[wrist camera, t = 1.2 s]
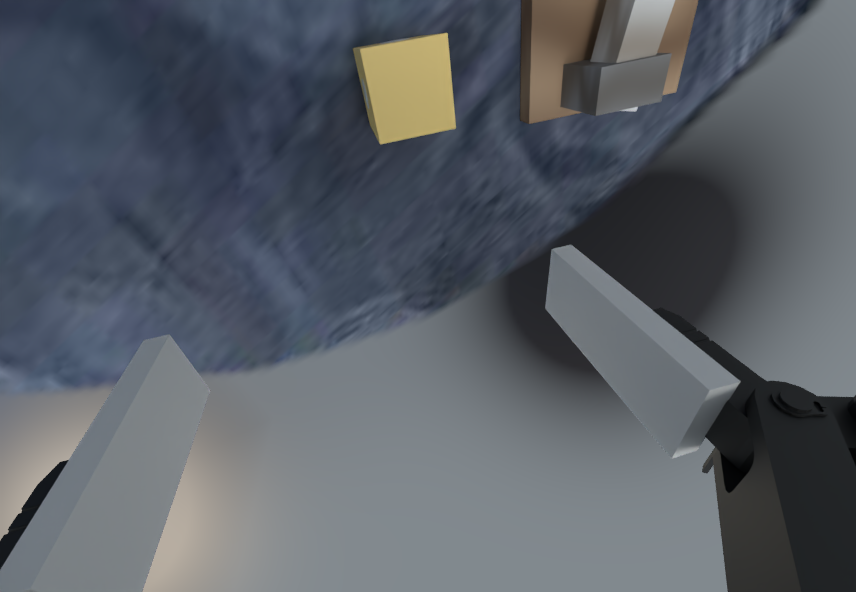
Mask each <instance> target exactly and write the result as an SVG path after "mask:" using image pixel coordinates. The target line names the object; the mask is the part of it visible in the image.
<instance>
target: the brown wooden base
mask: <svg viewBox="0 0 856 592" xmlns="http://www.w3.org/2000/svg"><path fill="white" fill-rule="evenodd" d="M697 4H698V0H522V3H521V91H520V121H523V122H525V123H528V124H531V123H536V122H540V121H545V120H550V119H554V118H559V117H563V116H568V115H573V114H577V113H586V114H590V115H594V116H597V115H602V114H607V113H611V112H616V111H637V108H638V107H639V106H643V105H648V104H652V103H657V102H661V99H662V95H665V94H670V93H674V92H676V90H677V86H678V82H679V78H680V74H681V70H682V66H683V61H684V57H685V53H686V49H687V45H688V41H689V37H690V33H691V29H692V24H693V20H694V16H695V12H696V8H697Z"/></svg>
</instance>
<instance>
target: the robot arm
mask: <svg viewBox="0 0 856 592" xmlns="http://www.w3.org/2000/svg"><path fill="white" fill-rule="evenodd" d="M545 309H546V310H547V311H548V312H549V313H550V315H551V316H552V317H553V318H554V319H555V321H556V322H557V323H558V324H559V325H560V327H561V328H562V329H563V330H564V331H565V332H566V333H567V335H568V336H569V337H570V338H571V340H572V341H573V342H574V343H575V344H576V346H577V347H578V348H579V349H580V350H581V352H582V353H583V354H584V355H585V356H586V357H587V359H588V360H589V361H590V362H591V363H592V365H593V366H594V367H595V368H596V369H597V371H598V372H599V373H600V374H601V375H602V376H603V378H604V379H605V380H606V381H607V383H608V384H609V385H610V386H611V387H612V389H613V390H614V391H615V392H616V393H617V394H618V396H619V397H620V398H621V399H622V400H623V402H624V403H625V404H626V405H627V406H628V408H629V409H630V410H631V411H632V412H633V414H634V415H635V416H636V417H637V418H638V420H639V421H640V422H641V423H642V424H643V426H644V427H645V428H646V429H647V430H648V431H649V433H650V434H651V435H652V436H653V437H654V439H655V440H656V441H657V442H658V443H659V445H660V446H661V447H662V448H663V449H664V450H665V452H666V453H667V454H668V455H669V457H670V458H675V457H678V456H681V455H685V454H688V453H691V452H694V451H697V450H698V448H699V447H700V445H701V444H702V442H703V441H704V439H705V437H706V438H707V439H708V440H709V441H710V442H711V443H712V444H713V445H714V446H715V448H714V450H713V451H712V453H711V454H710V456H709V457H708V459H707V460H706V462H705V463H704V465H703V469H702V472H704V473H708V472H709V470H710V469H711V467H712V466H713V465H714V474H715V483H716V491H717V501H718V509H719V518H720V527H721V536H722V544H723V554H724V562H725V571H726V580H727V589H728V592H856V396H855V397H821V396H816V395H814V394H813V393H811V392H809V391H807V390H805V389H803V388H801V387H799V386H796V385H792V384H789V383H786V382H779V381H768V382H767V381H766V380H764V379H763V378H761V377H760V376H758V375H757V374H756V373H754V372H753V371H752V370H750V369H749V368H748V367H747V366H745V365H744V364H743V363H741V362H740V361H739V360H737V359H736V358H734V357H733V356H732V355H731V354H729V353H728V352H727V351H725V350H724V349H723V348H722V347H720V346H719V345H718V344H716V343H715V342H714V341H710V340H709V338H708V337H707V336H706V335H704V334H703V333H702V332H700V331H697V330H696V328H695V327H694V326H692V325H691V324H690V323H689V322H687V321H686V320H685V319H683V318H682V317H681V316H679V315H676V314H674V313H672V312H670V311H667V310H665V309H663V308H659V309H654V310H651V309H650V308H649V307H648V306H646V305H645V304H644V303H643V302H642V301H640V300H639V299H638V298H636V297H635V296H634V295H633V294H632V293H630V292H629V291H627V289H625V288H624V287H623V286H622V285H620V284H619V283H618V282H617V281H615V280H614V279H613V278H612V277H611V276H609V275H608V274H607V273H606V272H604V271H603V270H602V269H601V268H599V267H598V266H597V265H596V264H594V263H593V262H592V261H591V260H589V259H588V258H587V257H586V256H584V255H583V254H582V253H581V252H580V251H578V250H577V249H576V248H574V247H573V246H572V245H568V246H564V247H559V248H555V249H552V252H551V261H550V271H549V279H548V288H547V297H546V306H545ZM209 393H210V389H209V388H208V386H207V385H206V383H205V382H204V381H203V379H202V378H201V377H200V375H199V374H198V373H197V371H196V370H195V368H194V367H193V366H192V364H191V363H190V362H189V360H188V359H187V358H186V356H185V355H184V354H183V352H182V351H181V349H180V348H179V347H178V345H177V344H176V343H175V341H174V340H173V339H172V337H171V336H170V335H165V336H160V337H156V338H151V339H147V340H144V341H143V342H142V344H141V346H140V347H139V349H138V350H137V352H136V353H135V355H134V357H133V358H132V360H131V361H130V363H129V365H128V366H127V368H126V369H125V371H124V373H123V374H122V376H121V377H120V379H119V381H118V382H117V384H116V385H115V387H114V389H113V390H112V392H111V393H110V395H109V397H108V398H107V400H106V401H105V403H104V405H103V406H102V408H101V409H100V411H99V413H98V414H97V416H96V418H95V419H94V421H93V422H92V424H91V425H90V427H89V429H88V430H87V432H86V433H85V435H84V437H83V438H82V440H81V441H80V443H79V445H78V446H77V448H76V449H75V451H74V453H73V454H72V456H71V458H70V459H69V460H67V461H63V462H60V463H59V464H58V465H57V466H56V467H55V468H54V469H53V470H52V471H51V472H50V473H49V474H48V475H47V476H46V477H45V478H44V479H43V480H42V481H41V482H40V483H39V484H38V485H37V486H36V488H35V489H34V491H33V492H32V494H31V495H30V497H29V498H28V500H27V501H26V503H25V504H24V506H23V507H22V513H20V514H18V515H17V517H16V518H15V520H14V521H13V523H12V524H11V526H10V527H9V529H8V530H9V532H8V534H6V535H4V536H3V538H2V539H1V541H0V592H142V591H143V588H144V584H145V582H146V579H147V576H148V573H149V570H150V567H151V564H152V561H153V558H154V555H155V552H156V549H157V546H158V543H159V540H160V538H161V534H162V532H163V529H164V526H165V523H166V520H167V517H168V514H169V511H170V508H171V505H172V502H173V499H174V496H175V493H176V490H177V487H178V484H179V482H180V479H181V475H182V473H183V470H184V467H185V464H186V461H187V458H188V455H189V452H190V449H191V446H192V443H193V440H194V437H195V434H196V431H197V428H198V425H199V423H200V420H201V416H202V414H203V411H204V408H205V405H206V402H207V399H208V396H209Z"/></svg>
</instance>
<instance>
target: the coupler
mask: <svg viewBox="0 0 856 592" xmlns="http://www.w3.org/2000/svg"><path fill="white" fill-rule="evenodd" d="M353 51H354V56H355V60H356V65H357V69H358V74H359V78H360V83H361V87H362V92H363V96H364V101H365V105H366V110H367V114H368V119H369V123H370V126H371V128H372V130H373V132H374V134H375V136H376V137H377V139H378V141H379V143H380V144H385V143H390V142H394V141H399V140H404V139H408V138H413V137H418V136H423V135H427V134H432V133H437V132H441V131H446V130H451V129H456V123H455V112H454V100H453V89H452V78H451V67H450V55H449V44H448V33H442V34H432V35H422V36H417V37H411V38H404V39H398V40H392V41H387V42H382V43H378V44H373V45H367V46H362V47H356V48H353Z"/></svg>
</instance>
